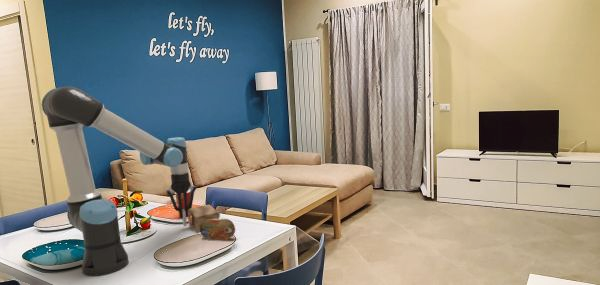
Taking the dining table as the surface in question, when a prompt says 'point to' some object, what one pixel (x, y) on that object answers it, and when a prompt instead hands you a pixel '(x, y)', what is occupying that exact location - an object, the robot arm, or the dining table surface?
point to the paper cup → (182, 200)
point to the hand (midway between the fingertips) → (184, 224)
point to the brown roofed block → (191, 220)
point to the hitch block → (202, 215)
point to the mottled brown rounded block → (217, 229)
